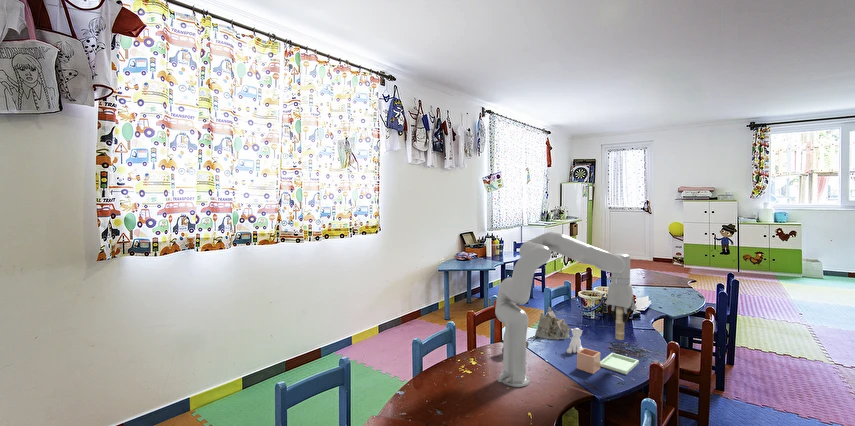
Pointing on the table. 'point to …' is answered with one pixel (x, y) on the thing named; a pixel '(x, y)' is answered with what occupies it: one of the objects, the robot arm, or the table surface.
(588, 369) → the pink open box
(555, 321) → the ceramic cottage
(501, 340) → the figurine character
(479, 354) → the table surface
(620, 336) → the dowel
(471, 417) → the table surface
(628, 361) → the tray
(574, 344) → the sitting furry creature
